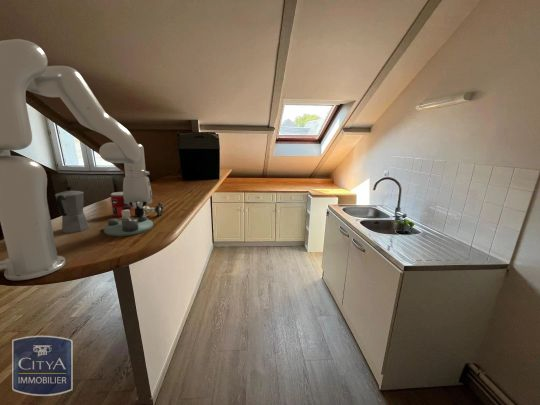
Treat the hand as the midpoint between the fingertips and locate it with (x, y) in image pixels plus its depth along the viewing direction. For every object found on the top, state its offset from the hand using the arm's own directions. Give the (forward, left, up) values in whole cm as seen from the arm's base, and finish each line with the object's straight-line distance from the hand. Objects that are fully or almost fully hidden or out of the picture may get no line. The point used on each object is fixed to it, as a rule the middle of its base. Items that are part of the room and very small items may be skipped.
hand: (139, 216), depth 105 cm
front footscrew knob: (-5, -3, -3) cm, 6 cm away
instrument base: (-4, -1, -4) cm, 6 cm away
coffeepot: (-23, +8, -5) cm, 25 cm away
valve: (+6, +16, -5) cm, 18 cm away
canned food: (-5, +23, -5) cm, 25 cm away
